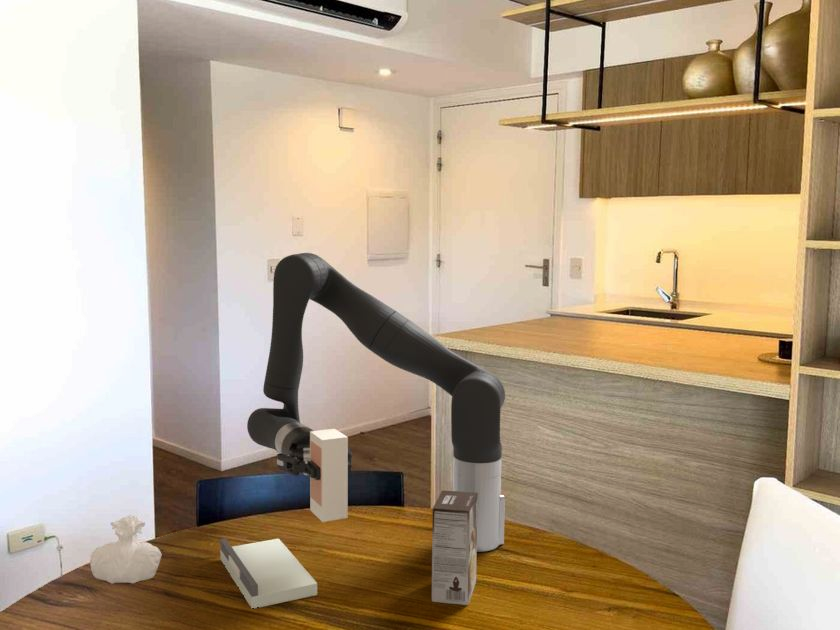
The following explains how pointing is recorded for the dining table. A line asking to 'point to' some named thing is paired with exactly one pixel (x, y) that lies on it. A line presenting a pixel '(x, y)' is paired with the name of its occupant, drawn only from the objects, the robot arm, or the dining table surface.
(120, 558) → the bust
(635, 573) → the dining table surface
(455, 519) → the coffee box
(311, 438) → the carton
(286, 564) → the shelf board
